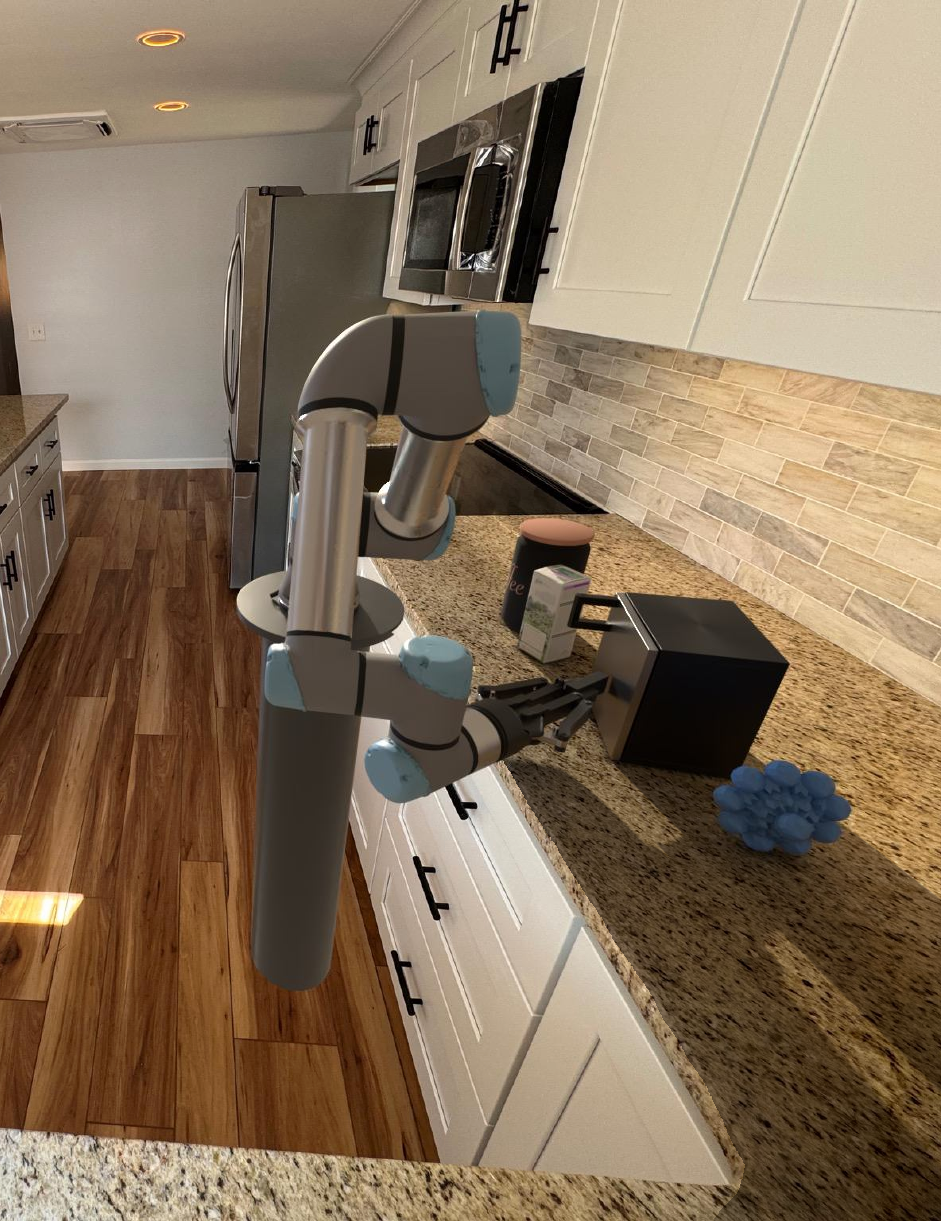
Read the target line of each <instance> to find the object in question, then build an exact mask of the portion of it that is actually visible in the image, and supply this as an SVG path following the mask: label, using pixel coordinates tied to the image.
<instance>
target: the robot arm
mask: <svg viewBox="0 0 941 1221" xmlns="http://www.w3.org/2000/svg"><path fill="white" fill-rule="evenodd" d="M521 364H522V326H521V322H520V319H519V317H518V316H517V315H516V314H514V313H512V312H511V311H507V310H486V309H484V308H483V309H482V308H481V309H478V310H465V311H464V310H463V311H447V312H428V313H411V314H410V313H409V314H408V313H406V314H392V313H391V314H389V313H387V314H386V313H385V314H380V315H375V316H371V317H368V318H366V319H363V320H361V321H359V322H357V323H355V324H353V325H351V326H350V327H349V328H347V329H345V330H344V331H343V332H342V333H341V334H339V335H338V336H337V337H336V338H335V339H333V341H332V342H331V343H330V344H329V345H328V346H327V347H326V348H325V350H324V351H323V353H322V354H321V355H320V356H319V357H318V359H317V360H316V362H315V364H314V365H313V367H312V369H311V371H310V372H309V375H308V376H307V379H306V381H305V382H304V385H303V388H302V391H301V393H300V398H299V401H298V405H297V413H296V423H295V427H296V430H297V432H298V433H299V434H300V436H302V438H303V442H302V452H301V463H300V473H299V474H300V476H299V485H298V492H297V493H296V495H295V496H294V499H293V506H292V512H291V515H290V520H291V536H290V537H291V538H290V548H289V549H290V551H289V552H290V553H289V564H288V567H287V570H286V571H287V572H286V574H285V577H284V579H283V582H282V584H281V586H280V589H279V590H277V591H275V592H273V593H271V594H270V597H271V598H274V597H276V596H278V603H279V605H280V607H281V608H282V609H283V610H285V611H286V612H288V621H287V633H286V639H285V643H281V644H273V645H271V646H270V647H269V650H268V655H267V663H266V672H265V696H266V699H267V700H268V701H269V703H271V704H272V705H275V706H281V707H287V708H293V709H299V710H302V711H306V710H308V711H318V712H328V713H337V714H347V715H355V716H360V717H361V718H370V719H378V720H385V721H389V726H388V728H389V729H388V734H387V736H386V737H385V738H380V739H379V740H377V741H375V742H374V743H372V744H371V745H370V746H369V747H368V748H367V750H366V751H365V753H364V758H363V763H364V770H365V773H366V776H367V778H368V780H369V782H370V784H371V785H372V786H373V788H374V789H375V790H376V791H377V793H379V794H380V795H382V796H383V798H385V799H386V800H388V801H390V802H392V803H395V804H407V803H409V802H411V801H415V800H417V799H419V798H426V797H429V795H431V794H433V793H435V792H437V791H439V790H441V789H443V788H445V787H447V786H449V785H451V784H453V783H455V782H458V781H460V780H461V779H464V778H466V777H468V776H470V775H473V774H474V773H477V772H479V771H481V770H483V769H485V768H487V767H490V766H492V765H494V764H496V763H499V762H502V761H503V760H506V759H508V758H510V757H512V756H515V755H516V754H518V753H519V752H521V751H522V750H523V749H524V748H526V747H528V746H529V747H530V746H539V745H540V744H542V743H543V744H548V745H552V746H553V750H554V751H555V752H557V753H560V754H563V753H565V752H566V750H567V746H568V743H569V741H570V740H571V738H573V736H575V734H576V733H578V731H579V730H581V728H582V727H583V726H584V725H585V724H587V722H588V721H589V719H590V716H591V714H592V707H593V702H594V701H595V700H596V698H597V695H600V694H602V693H604V691H605V688H606V685H607V682H608V679H609V676H608V675H606V674H604V673H602V672H600V671H597V672H595V673H592V674H591V673H590V674H587V675H585V676H583V677H581V678H578V679H576V678H569V679H564V678H562V677H555V680H554V682H553V683H552V682H549V680H548V678H546V677H535V678H529V679H523V680H519V681H513V682H508V683H501V684H495V685H488V684H487V685H486V684H485V685H484V684H481V685H478V686H477V690H476V695H475V699H474V702H472V703H470V704H468V701H469V699H470V698H469V697H471V693H472V688H471V686H472V681H473V672H474V658H473V656H472V653H471V652H470V651H469V650H468V649H467V648H466V647H465V646H464V645H463V644H461V643H459V642H458V641H456V640H453V639H451V638H448V637H444V636H440V635H434V634H433V635H432V634H425V635H422V636H414V637H411V638H408V639H407V640H406V641H404V642H403V644H402V646H401V648H400V651H399V652H398V654H395V653H384V652H373V651H372V652H371V651H370V652H363V651H354V650H351V638H352V627H353V614H354V613H355V612H356V611H357V610H358V608H359V604H360V600H361V599H360V593H359V589H358V585H357V581H356V576H357V575H358V574H357V573H358V563H359V562H358V561H359V558H373V559H388V560H389V559H390V560H391V559H392V560H407V561H408V560H409V561H414V562H423V561H436V560H439V559H440V558H441V557H443V555H445V554H446V552H447V550H448V548H449V546H450V544H451V540H452V539H451V537H452V536H453V534H454V530H455V524H456V504H455V500H454V499H453V498H452V497H451V495H448V494H447V491H448V488H449V486H450V483H451V481H452V478H453V476H454V473H455V471H456V468H457V465H458V463H459V461H460V458H461V455H462V454H463V451H464V448H465V445H466V444H467V440H468V438H469V437H471V436H473V435H475V434H476V433H478V432H479V431H480V430H481V429H482V428H483V427H484V426H485V425H486V424H487V422H488V421H489V419H490V417H491V416H492V417H493V418H498V417H500V416H506V415H508V414H510V413H511V412H512V411H513V410H514V408H515V405H516V401H517V397H518V391H519V384H520V376H521ZM379 416H396V417H397V419H398V421H399V423H400V424H401V426H402V428H401V432H400V435H399V440H398V444H397V448H396V453H395V457H394V460H393V465H392V469H391V474H390V477H389V478H390V479H389V482H387V483H386V484H384V485H383V486H382V487H381V489H380V490H379V492H371V491H370V492H364V486H365V471H366V460H367V449H368V448H367V447H368V446H367V445H368V438H369V437H370V436H372V435H373V434H374V433H375V432H376V430H377V428H378V418H379ZM560 720H561V721H560ZM558 721H560V723H559V725H558V726H557V725H554V726H553V728H552V729H550V730H549V731H545V728H546V727H547V726H549V725H551V724H553V723H555V722H558Z"/></svg>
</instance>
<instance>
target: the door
mask: <svg viewBox="0 0 941 1221" xmlns="http://www.w3.org/2000/svg"><path fill="white" fill-rule="evenodd" d="M583 605H584V606H593V607H603V608H610V610H609V613H608V616H607V619H606V620H603V619H595V618H584V617H581V618H580V614H581V611H582V607H583ZM583 608H584V607H583ZM582 612H583V611H582ZM581 615H582V614H581ZM567 626H568V627H569V628H576V629H577V630H587V631H594V632H595V631H596V632H602V636H601V639H600V641H599V645H598V648H597V652H596V655H595V658H594V662H593V665H592V668H591V671H590V674H592V673H595V672H597V671H600V672H602V673H604V674H606V675H608V676H609V679H608V682H607V685H606V688H605V691H604V693H602V694H600V695H597V698H596V700H595V701H594V702H593V707H592V710H591V713H592V715H593V717H594V719H595V723H596V724H597V727H598V730H599V732H600V735H601V739H602V740H603V743H604V746H605V748H606V751H607V754H608V756H609V759H610V760H613V761H619V762H620V761H621V759H620V757H621V754H622V751H623V749H624V746H625V743H626V740H627V737H628V735H629V732H630V729H631V726H632V723H633V721H634V718H635V715H636V712H637V709H638V707H639V704H640V701H641V698H642V695H643V693H644V690H645V687H646V684H647V681H648V679H649V676H650V673H651V670H652V667H653V665H654V662H655V659H656V656H657V653H658V649H657V648H656V646H655V644H654V643H653V641H652V639H651V637H650V636H649V634H648V632H647V631H646V629H645V627H644V626H643V624H642V622H641V621H640V619H639V617H638V616H637V614H636V612H635V611H634V609H633V607H632V606H631V604H630V602H629V601H628V599H627V597H626V596H625V592H619V591H618V592H617V591H616V592H615V593H614V595H605V594H595V593H594V594H592V593H587V594H583V593H576V594H575V598H574V601H573V605H572V609H571V612H570V616H569V619H568V623H567Z"/></svg>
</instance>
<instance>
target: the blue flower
mask: <svg viewBox="0 0 941 1221" xmlns="http://www.w3.org/2000/svg"><path fill="white" fill-rule="evenodd" d="M730 780H731V784H732V785H728V784H727V785H726V784H723V785H720V786H718V787H716V788H715V789H714V791H713V793H712V796H713V801H714V804H715V805H716V806H717V807H718V808H719V809H721V810H720V811H719V812H718V815H717V821H718V825H719V827H720V828H721V829H722V830H723V831H724V832H726V833H728V834H730V835H734V836H742V840H743V842H744V843H745V845H746V846H747V847H748V848H750V849H752V850H754V851H755V852H756V851H757V852H762V853H765V852H766V853H767V852H771V851H772V850H774V849H775V848H776V846H777V847H779V848H780V849H781V850H782V851H783V852H785V853H787V854H789V855H792V856H804V855H807V854H808V853H810V851H811V849H812V847H813V843H812V840H813V841H815V842H817V843H820V844H825V845H827V844H828V845H829V844H834V843H836V842H838V841H840V838H841V837H842V834H843V833H842V828H841V826H840V824H839V823H838V822H843V821H845V820H848V818H850V815H851V813H852V807H851V803H850V802H849V800H847V799H846V797H844V796H841V795H840V794H837V793H835V791H836V789H837V787H836V783H835V781H834V779H832V777H831V776H830V775H829V774H826V773H825V772H822V771H821V770H820V771H819V770H806V771H804V772H802V771H801V769H800V768H799V767H798V766H797V765H796V764H795V763H793V762H790V761H788V760H782V759H781V760H780V759H775V760H772V761H770V762H768V763H766V765H765V767H764V769H763V772H762V770H760V769H758V768H756V767H754V766H747V765H746V766H745V765H742V766H741V767H738V768H736V769H735V770H733V772H732V774H731V779H730Z"/></svg>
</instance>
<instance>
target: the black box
mask: <svg viewBox="0 0 941 1221" xmlns="http://www.w3.org/2000/svg"><path fill="white" fill-rule="evenodd" d="M624 594H625V596H626V597H627V599H628V601H629V602H630V604H631V606H632V607H633V609H634V611H635V612H636V614H637V616H638V617H639V619H640V621H641V622H642V624H643V626H644V627H645V629H646V631H647V632H648V634H649V636H650V637H651V639H652V641H653V643H654V644H655V646H656V648H657V649H658V653H657V656H656V659H655V662H654V665H653V667H652V670H651V673H650V676H649V679H648V681H647V684H646V687H645V690H644V693H643V695H642V698H641V701H640V704H639V707H638V709H637V712H636V715H635V718H634V721H633V723H632V726H631V729H630V732H629V735H628V737H627V740H626V743H625V746H624V749H623V751H622V754H621V757H620V761H621V763H626V764H632V765H638V766H644V767H651V768H657V769H664V770H670V771H677V772H683V773H690V774H695V775H701V776H702V775H703V776H708V777H715V778H724V779H728V780H732V779H731V774H732V772H733V770H735V769H736V768H738V767H741V766H744V763H745V761H746V759H747V757H748V755H749V752H750V750H751V749H752V746H753V745H754V742H755V740H756V737H757V735H758V733H759V731H760V729H761V727H762V725H763V723H764V721H765V718H766V716H767V714H768V712H769V709H770V708H771V705H772V704H773V701H774V699H775V697H776V695H777V693H778V691H779V689H780V686H781V684H782V683H783V680H784V678H785V675H786V673H787V671H788V669H789V668H790V665H791V663H790V661H789V660H788V659H787V658H786V657H785V656H784V655H783V654H782V653H781V652H780V651H779V650H778V649H777V647H775V645H774V644H773V643H772V642H771V641H770V639H768V637H767V636H766V635H765V634H764V633H763V632H762V631H761V630H760V628H758V626H757V625H755V623H754V622H753V621H752V620H751V619H750V618H749V617H748V615H747V614H745V612H744V611H743V610H742V609H741V608H740V607H739V606H738V605H737V603H735V602H734V601H733V600H725V599H715V598H703V597H702V598H701V597H690V596H678V595H665V594H653V593H643V592H632V591H631V592H630V591H625V592H624Z"/></svg>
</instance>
